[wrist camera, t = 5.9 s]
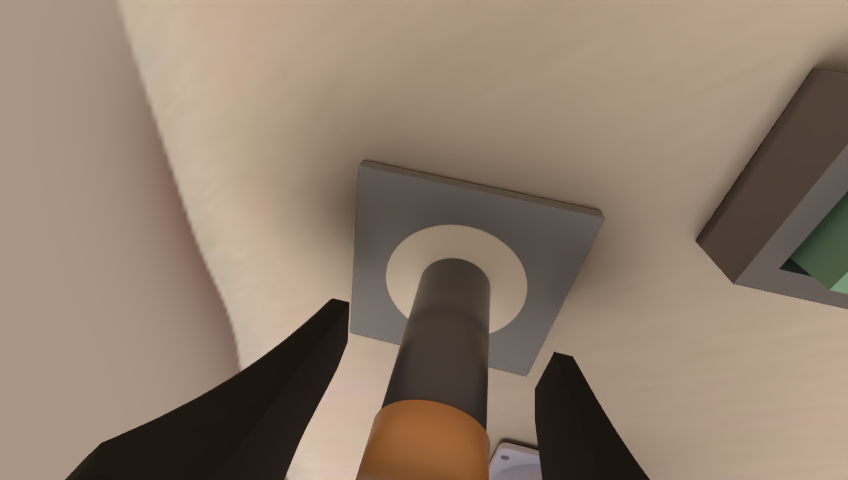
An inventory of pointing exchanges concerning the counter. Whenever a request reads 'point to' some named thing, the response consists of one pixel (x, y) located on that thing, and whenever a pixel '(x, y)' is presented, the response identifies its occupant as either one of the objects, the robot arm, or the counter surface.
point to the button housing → (786, 194)
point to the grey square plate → (465, 254)
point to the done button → (827, 249)
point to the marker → (437, 384)
